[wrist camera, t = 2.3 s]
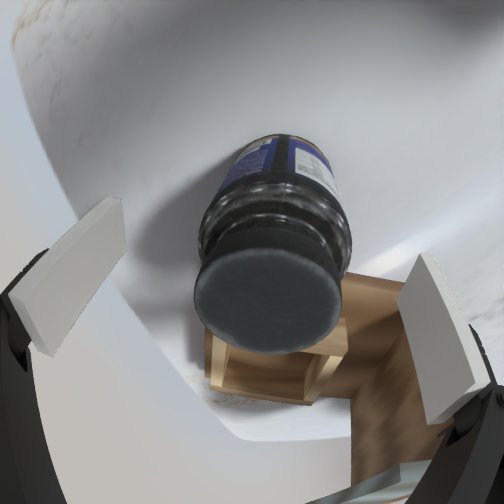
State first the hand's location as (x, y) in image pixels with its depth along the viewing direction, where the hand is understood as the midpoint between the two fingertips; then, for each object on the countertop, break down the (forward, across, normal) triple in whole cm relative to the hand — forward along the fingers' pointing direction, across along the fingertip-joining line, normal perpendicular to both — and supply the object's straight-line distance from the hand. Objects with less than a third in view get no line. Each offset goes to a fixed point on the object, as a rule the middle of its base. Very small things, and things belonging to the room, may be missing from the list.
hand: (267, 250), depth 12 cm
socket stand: (+7, +5, -14) cm, 16 cm away
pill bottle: (+8, 0, 0) cm, 8 cm away
